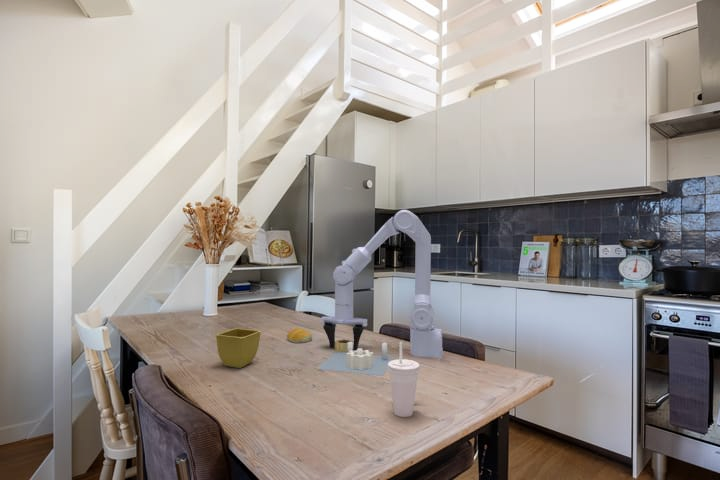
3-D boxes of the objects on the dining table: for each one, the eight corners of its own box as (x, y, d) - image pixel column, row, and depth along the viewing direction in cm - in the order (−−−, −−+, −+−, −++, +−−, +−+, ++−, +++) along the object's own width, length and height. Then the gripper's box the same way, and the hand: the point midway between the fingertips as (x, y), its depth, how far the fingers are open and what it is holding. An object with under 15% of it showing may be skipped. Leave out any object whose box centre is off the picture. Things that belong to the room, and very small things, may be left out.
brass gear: (355, 350, 118) (355, 340, 118) (349, 355, 113) (349, 344, 113) (338, 349, 119) (338, 338, 119) (332, 354, 114) (332, 343, 114)
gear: (375, 363, 102) (375, 350, 102) (368, 371, 95) (368, 357, 95) (351, 360, 104) (351, 348, 104) (343, 368, 97) (343, 355, 97)
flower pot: (261, 362, 106) (261, 330, 107) (242, 371, 98) (242, 337, 98) (235, 358, 109) (235, 328, 109) (214, 368, 101) (215, 334, 101)
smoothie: (385, 406, 77) (385, 338, 78) (415, 405, 78) (415, 337, 78) (390, 420, 71) (390, 346, 71) (423, 419, 71) (423, 346, 72)
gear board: (395, 361, 107) (395, 341, 107) (382, 380, 92) (382, 357, 92) (336, 355, 112) (336, 336, 113) (315, 373, 97) (315, 351, 97)
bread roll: (296, 345, 125) (296, 333, 125) (283, 340, 132) (283, 328, 132) (317, 341, 131) (317, 329, 131) (303, 336, 137) (303, 325, 138)
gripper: (317, 304, 114) (317, 349, 114) (362, 307, 110) (362, 353, 110) (326, 301, 121) (325, 343, 121) (369, 303, 117) (369, 347, 117)
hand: (343, 348), depth 116 cm, fingers open, 7 cm apart
